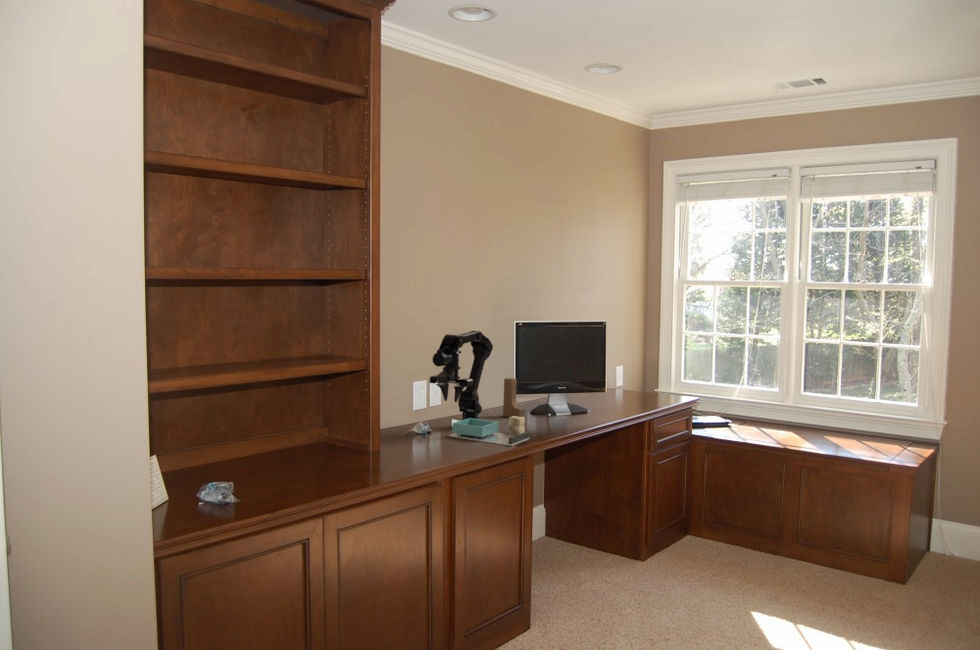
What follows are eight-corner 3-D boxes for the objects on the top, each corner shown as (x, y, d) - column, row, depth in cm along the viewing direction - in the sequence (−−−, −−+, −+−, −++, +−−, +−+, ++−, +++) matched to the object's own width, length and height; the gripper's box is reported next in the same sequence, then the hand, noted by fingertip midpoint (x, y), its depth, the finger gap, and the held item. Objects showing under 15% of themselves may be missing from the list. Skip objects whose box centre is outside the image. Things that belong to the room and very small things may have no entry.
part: (508, 434, 320) (509, 417, 320) (514, 432, 325) (514, 415, 324) (519, 435, 318) (519, 419, 318) (524, 433, 322) (525, 417, 322)
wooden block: (523, 417, 360) (525, 379, 359) (518, 418, 356) (520, 380, 355) (507, 415, 365) (509, 377, 364) (502, 416, 361) (503, 378, 360)
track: (448, 436, 312) (449, 429, 312) (468, 430, 326) (468, 423, 326) (511, 445, 298) (511, 438, 298) (529, 438, 312) (529, 431, 312)
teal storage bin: (452, 434, 312) (452, 423, 312) (469, 428, 324) (469, 418, 324) (481, 438, 305) (482, 427, 305) (498, 432, 318) (498, 421, 317)
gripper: (422, 364, 317) (421, 401, 318) (460, 368, 308) (459, 406, 309) (437, 362, 326) (436, 398, 327) (474, 365, 317) (473, 402, 318)
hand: (450, 401), depth 320 cm, fingers open, 5 cm apart
